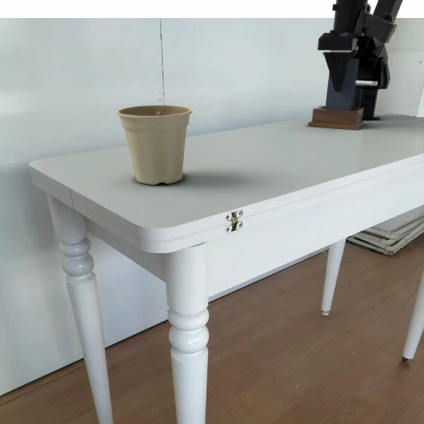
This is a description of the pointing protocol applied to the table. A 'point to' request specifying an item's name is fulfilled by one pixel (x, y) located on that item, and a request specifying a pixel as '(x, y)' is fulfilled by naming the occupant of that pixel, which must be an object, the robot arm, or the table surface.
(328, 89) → the back pad
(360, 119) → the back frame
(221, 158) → the table surface
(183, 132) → the flower pot
